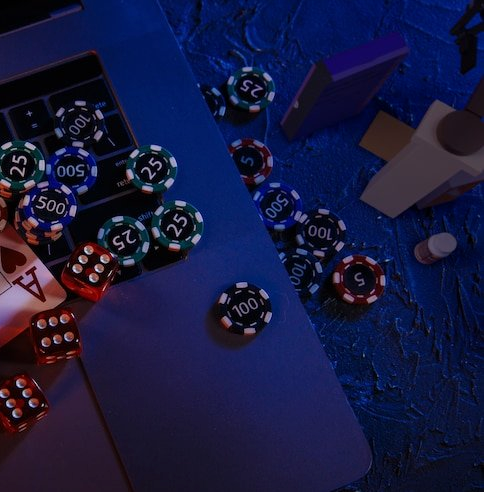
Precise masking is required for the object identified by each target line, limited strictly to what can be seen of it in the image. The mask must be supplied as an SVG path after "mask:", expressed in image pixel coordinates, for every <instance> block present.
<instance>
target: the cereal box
mask: <svg viewBox="0 0 484 492" xmlns="http://www.w3.org/2000/svg"><path fill="white" fill-rule="evenodd" d="M410 52H411V51H410V48H409V46H408V44H407V43H406V41H405V39H404V38H403V37H402V35H401V33H400V32H399V31H398V30H397V29H396V30H394V31H391V32H389V33H386V34H383V35H381V36H379V37H376V38H374V39H372V40H369V41H366V42H364V43H361V44H358V45H356V46H353V47H351V48H348V49H346V50H344V51H341V52H337V53H335V54H333V55H331V56H328V57H326V58H322V59H321V60H318V61H316V62H313V64H312V66H311V67H310V69H309V71H308V73H307V75H306V77H305V79H304V80H303V82H302V84H301V85H300V86H299V89H298V91H297V93H296V94H295V95H294V97H293V100H292V101H291V104H290V105H289V107H288V108H287V110H286V112H285V114H284V116H283V117H282V118H281V122H279V124H280V126H281V128H282V129H283V131H284V133H285V135H286V136H287V139H288V141H289V142H293V141H295V140H297V139H300V138H303V137H305V136H308V135H310V134H313V133H315V132H317V131H320V130H322V129H325V128H327V127H330V126H333V125H335V124H337V123H339V122H342V121H344V120H347V119H349V118H351V117H354V116H357V115H359V114H361V113H362V112H363V111H364V109H365V108H366V107H367V106H368V105H369V103H370V102H371V100H372V99H373V98H374V97H375V95H376V94H377V93H378V92H379V91H380V89H381V88H382V87H383V86H384V84H385V83H386V82H387V80H388V79H389V78H390V77H391V76H392V75H393V73H394V72H395V70H396V69H397V68H398V67H399V66H400V64H401V63H402V62H403V61H404V59H405V58H406V57H407V56H408V55H409V53H410Z"/></svg>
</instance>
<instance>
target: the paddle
mask: <svg viewBox="0 0 484 492" xmlns="http://www.w3.org/2000/svg"><path fill="white" fill-rule="evenodd" d="M456 110H457V109H456ZM483 118H484V73H482V75H481V77H480V79H479V81H478V83H477V84H476V86H475V88H474V89H473V91H472V93H471V95H470V97H469V98H468V100H467V102H466V103H465V105H464V107H463V109H458V110H457V111H453V112H450V113H449V114H447V115H446V116H445V117H444V118H443V119H442V120H441V121H440V122H439V123H438V125H437V129H436V136H437V139H438V141H439V143H440V145H441V146H442V147H443V148H444V149H445V150H446V151H448V152H449V153H451V154H454V155H457V156H468V155H471V154H474V153H475V152H477V151H478V150H479V149H481V148H482V147H483V146H484V121H483Z"/></svg>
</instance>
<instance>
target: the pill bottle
mask: <svg viewBox="0 0 484 492" xmlns="http://www.w3.org/2000/svg"><path fill="white" fill-rule="evenodd" d="M457 245H458V242H457V239H456V237H455V236H454V235H453V234H452V233H449V232H441V233H436V234H432V235H430V237H428V238H426V239H424V240H423V241H421V242H419V243H418V244H416V246H415V248H414V257H415V258H416V259H417V261H419V263H421V264H424V265H432V264H433V263H436V262H438V261H440V260H442V259H444V258H446V257H448V256H449V255H451V253H452V252H453V251H455V250H456V248H457Z"/></svg>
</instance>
